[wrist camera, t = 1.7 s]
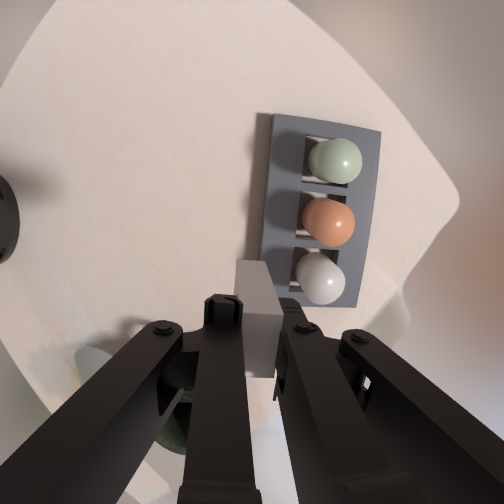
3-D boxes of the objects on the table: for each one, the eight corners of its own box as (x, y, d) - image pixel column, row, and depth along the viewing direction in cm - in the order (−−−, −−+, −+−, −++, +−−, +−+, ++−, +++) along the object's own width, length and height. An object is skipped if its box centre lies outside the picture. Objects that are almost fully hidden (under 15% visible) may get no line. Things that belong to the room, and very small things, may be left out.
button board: (254, 298, 44) (256, 304, 42) (272, 116, 38) (274, 113, 36) (351, 301, 45) (355, 307, 43) (374, 133, 39) (381, 131, 37)
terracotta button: (299, 235, 40) (309, 245, 35) (304, 195, 39) (315, 199, 34) (337, 238, 40) (351, 248, 36) (342, 199, 39) (357, 204, 34)
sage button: (305, 178, 38) (317, 180, 33) (309, 138, 37) (321, 134, 32) (344, 183, 39) (359, 186, 34) (348, 144, 37) (364, 142, 32)
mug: (165, 401, 47) (154, 454, 36) (154, 324, 44) (134, 373, 32) (231, 402, 48) (233, 457, 37) (230, 325, 45) (232, 376, 33)
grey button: (292, 288, 42) (301, 304, 37) (297, 251, 40) (307, 262, 36) (329, 289, 42) (341, 305, 37) (335, 253, 41) (348, 265, 36)
